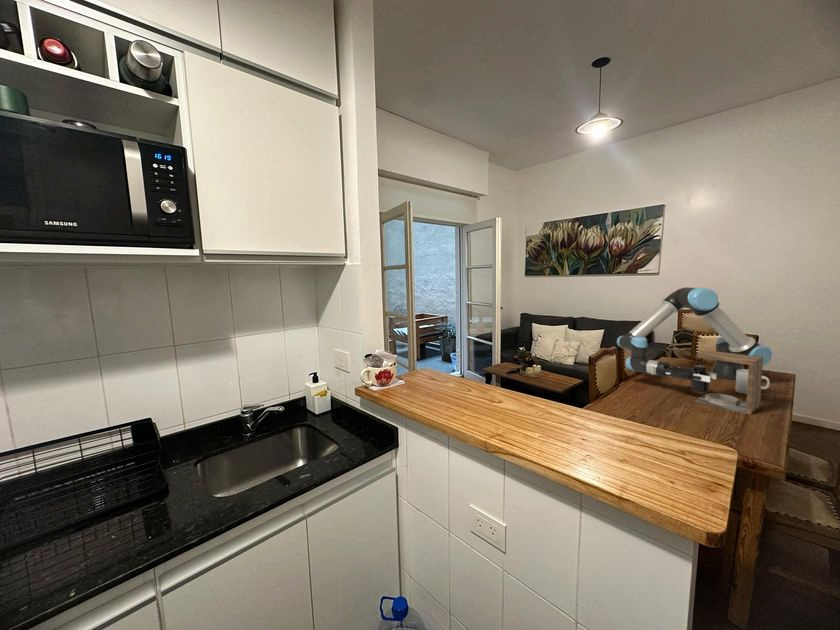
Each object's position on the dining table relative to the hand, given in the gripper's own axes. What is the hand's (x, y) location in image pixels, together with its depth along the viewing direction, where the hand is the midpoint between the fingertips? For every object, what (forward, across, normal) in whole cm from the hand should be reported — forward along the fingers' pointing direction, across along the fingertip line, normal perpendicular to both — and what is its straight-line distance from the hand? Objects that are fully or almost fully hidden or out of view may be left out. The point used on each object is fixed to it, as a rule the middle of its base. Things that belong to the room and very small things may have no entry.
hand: (713, 377), depth 156 cm
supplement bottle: (-5, 0, -7) cm, 9 cm away
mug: (+7, -28, -12) cm, 31 cm away
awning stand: (+5, -1, -12) cm, 13 cm away
